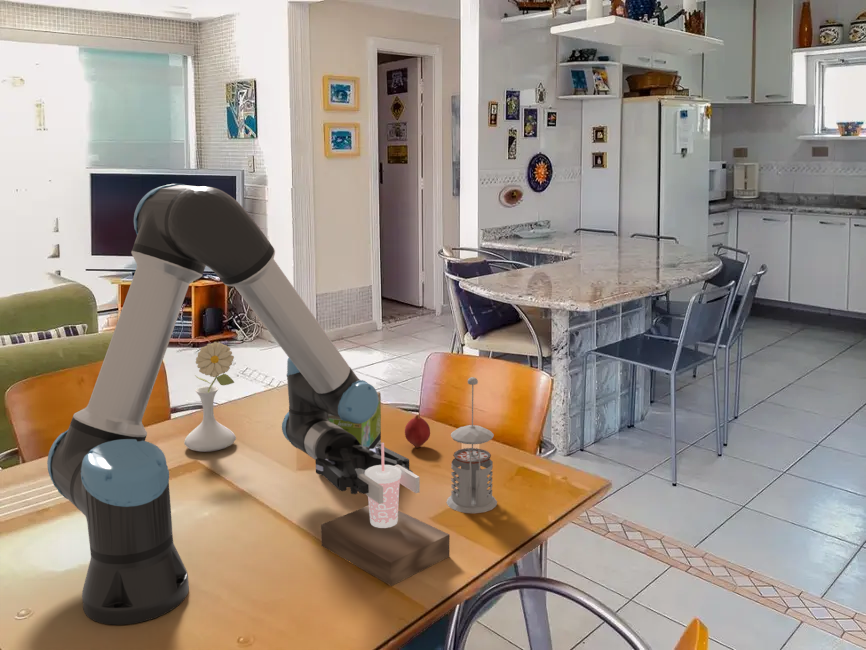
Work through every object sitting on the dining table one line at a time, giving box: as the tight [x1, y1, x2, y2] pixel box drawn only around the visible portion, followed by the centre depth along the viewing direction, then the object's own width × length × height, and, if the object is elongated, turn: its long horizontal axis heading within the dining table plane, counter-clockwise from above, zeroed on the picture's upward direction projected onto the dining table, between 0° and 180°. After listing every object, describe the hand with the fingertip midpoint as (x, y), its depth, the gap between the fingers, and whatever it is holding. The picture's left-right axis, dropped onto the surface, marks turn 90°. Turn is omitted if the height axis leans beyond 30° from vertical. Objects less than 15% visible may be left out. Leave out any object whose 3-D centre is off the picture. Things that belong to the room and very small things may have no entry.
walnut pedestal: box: [320, 504, 450, 587], centre depth 134 cm, size 13×18×4 cm
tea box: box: [328, 391, 382, 478], centre depth 170 cm, size 15×10×15 cm, turn 168°
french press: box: [446, 376, 498, 514], centre depth 149 cm, size 10×12×25 cm
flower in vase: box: [183, 341, 237, 452], centre depth 179 cm, size 13×11×25 cm
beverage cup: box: [364, 442, 401, 528], centre depth 132 cm, size 6×6×14 cm
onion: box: [404, 413, 431, 449], centre depth 180 cm, size 6×6×8 cm
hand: (399, 490), depth 127 cm, fingers open, 6 cm apart
